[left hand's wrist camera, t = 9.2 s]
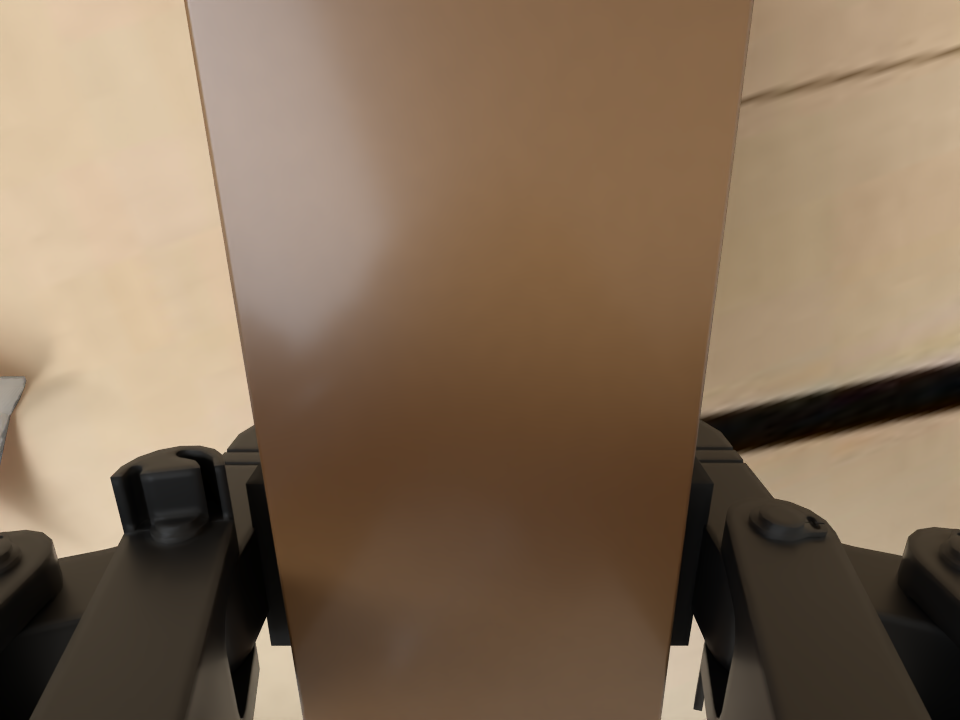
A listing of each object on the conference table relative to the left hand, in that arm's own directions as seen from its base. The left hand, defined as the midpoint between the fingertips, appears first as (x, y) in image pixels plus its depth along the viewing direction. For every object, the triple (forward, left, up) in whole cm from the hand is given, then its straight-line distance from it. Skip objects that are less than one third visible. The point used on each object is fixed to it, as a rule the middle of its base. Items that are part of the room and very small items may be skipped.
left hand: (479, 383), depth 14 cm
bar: (+20, +9, -1) cm, 21 cm away
